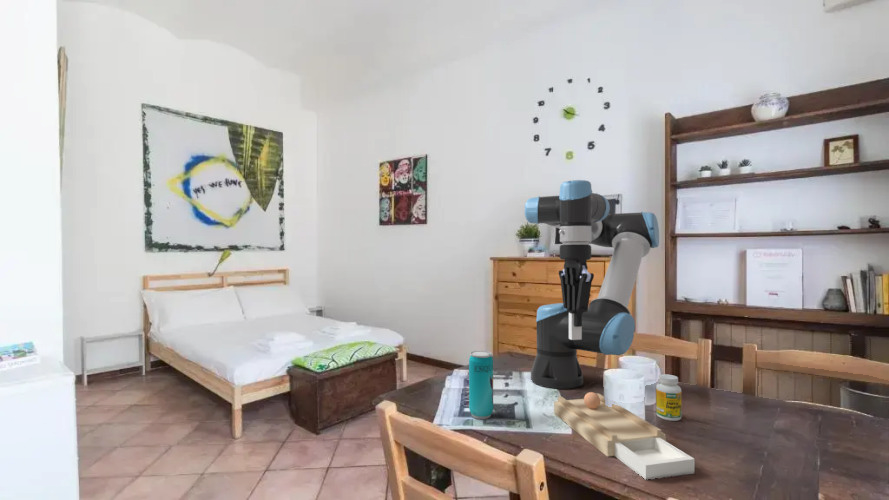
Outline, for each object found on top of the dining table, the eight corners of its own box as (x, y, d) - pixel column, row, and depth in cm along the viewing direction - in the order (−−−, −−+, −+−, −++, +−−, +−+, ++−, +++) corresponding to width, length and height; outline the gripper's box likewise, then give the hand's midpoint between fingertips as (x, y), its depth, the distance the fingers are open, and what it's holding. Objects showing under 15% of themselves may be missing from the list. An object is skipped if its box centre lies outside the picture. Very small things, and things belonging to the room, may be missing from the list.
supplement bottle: (671, 411, 107) (671, 372, 107) (686, 420, 101) (686, 379, 101) (651, 413, 106) (651, 373, 106) (665, 422, 101) (665, 380, 100)
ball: (580, 405, 103) (580, 390, 103) (594, 404, 103) (594, 389, 103) (589, 411, 99) (589, 395, 99) (603, 410, 100) (603, 394, 100)
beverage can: (494, 420, 102) (494, 356, 102) (469, 420, 102) (469, 356, 102) (492, 411, 108) (492, 350, 107) (468, 410, 108) (468, 350, 107)
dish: (611, 453, 86) (611, 440, 86) (655, 447, 88) (655, 435, 88) (645, 480, 76) (645, 465, 76) (694, 473, 78) (694, 458, 78)
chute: (554, 413, 106) (554, 397, 106) (602, 409, 109) (602, 393, 109) (607, 456, 84) (607, 436, 84) (665, 449, 87) (665, 429, 87)
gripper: (549, 243, 114) (549, 334, 114) (575, 243, 101) (574, 345, 101) (575, 243, 115) (575, 333, 115) (604, 243, 103) (603, 344, 103)
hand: (575, 338), depth 108 cm, fingers closed
